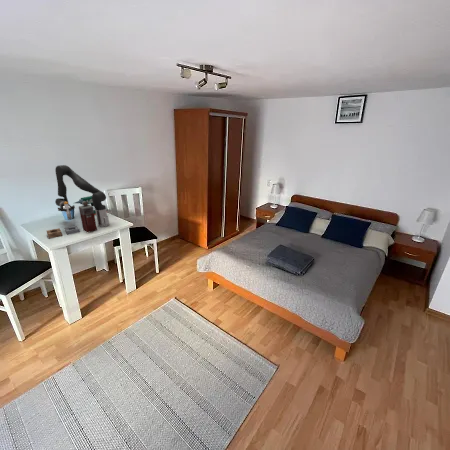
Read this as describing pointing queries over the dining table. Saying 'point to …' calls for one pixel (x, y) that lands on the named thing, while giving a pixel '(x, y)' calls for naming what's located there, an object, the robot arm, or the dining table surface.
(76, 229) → the socket block
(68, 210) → the steel peg
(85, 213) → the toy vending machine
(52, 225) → the dining table surface
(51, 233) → the walnut rack
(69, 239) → the dining table surface
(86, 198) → the power tool
